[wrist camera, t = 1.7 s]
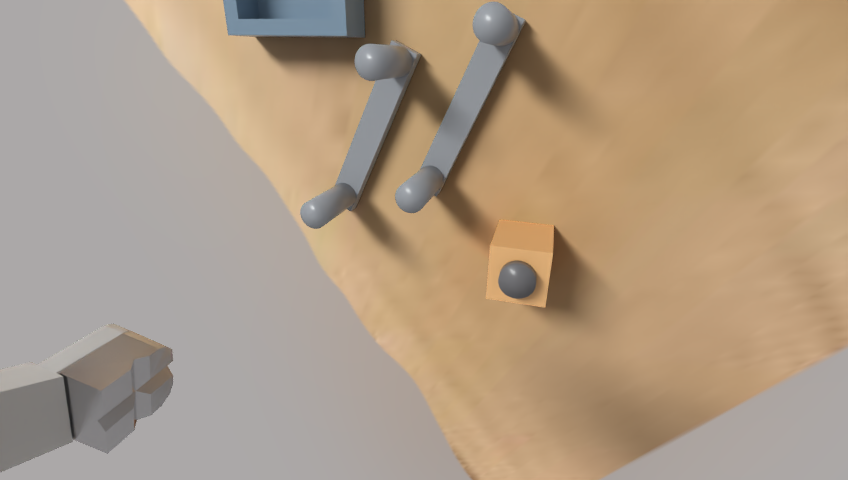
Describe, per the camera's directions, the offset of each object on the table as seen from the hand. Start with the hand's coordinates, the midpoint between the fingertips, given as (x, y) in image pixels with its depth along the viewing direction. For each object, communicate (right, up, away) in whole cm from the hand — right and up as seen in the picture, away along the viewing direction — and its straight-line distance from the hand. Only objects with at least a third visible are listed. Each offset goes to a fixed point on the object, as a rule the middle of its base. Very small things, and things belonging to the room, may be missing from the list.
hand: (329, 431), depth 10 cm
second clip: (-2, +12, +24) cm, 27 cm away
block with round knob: (+10, +4, +24) cm, 26 cm away
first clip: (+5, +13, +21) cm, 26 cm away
